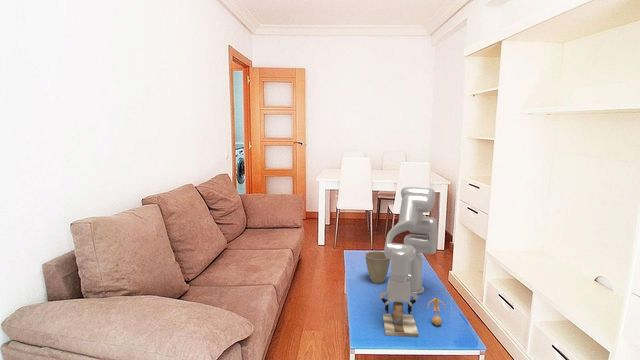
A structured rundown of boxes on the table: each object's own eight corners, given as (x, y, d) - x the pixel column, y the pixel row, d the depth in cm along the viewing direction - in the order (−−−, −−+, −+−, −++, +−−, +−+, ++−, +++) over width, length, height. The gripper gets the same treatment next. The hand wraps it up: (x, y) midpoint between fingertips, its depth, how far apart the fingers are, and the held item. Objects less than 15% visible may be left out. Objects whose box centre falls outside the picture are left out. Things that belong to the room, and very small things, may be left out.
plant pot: (388, 276, 220) (389, 251, 218) (391, 286, 206) (391, 259, 203) (364, 275, 222) (364, 250, 220) (364, 285, 207) (365, 259, 205)
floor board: (382, 316, 172) (382, 313, 172) (412, 318, 171) (412, 314, 171) (385, 335, 156) (385, 331, 156) (418, 337, 155) (418, 333, 155)
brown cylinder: (392, 319, 166) (392, 301, 165) (401, 320, 166) (402, 301, 164) (393, 324, 162) (393, 305, 160) (403, 325, 161) (403, 306, 160)
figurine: (429, 327, 163) (430, 302, 161) (425, 320, 169) (426, 296, 167) (447, 327, 163) (448, 302, 161) (442, 320, 169) (443, 296, 167)
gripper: (417, 274, 164) (416, 309, 166) (379, 272, 165) (378, 307, 168) (420, 281, 156) (418, 317, 159) (380, 279, 158) (379, 315, 160)
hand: (398, 312), depth 163 cm, fingers open, 9 cm apart
